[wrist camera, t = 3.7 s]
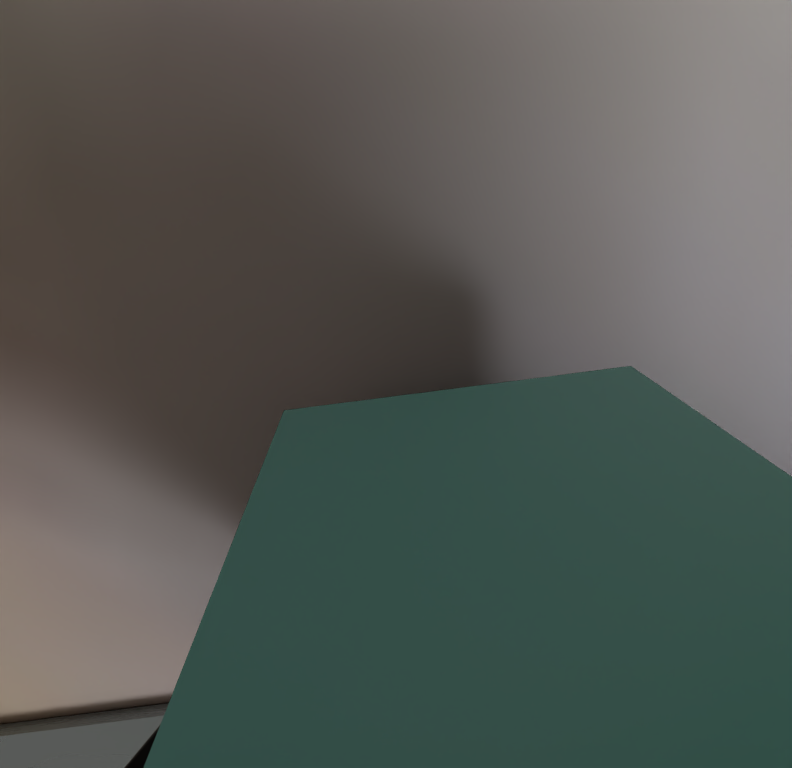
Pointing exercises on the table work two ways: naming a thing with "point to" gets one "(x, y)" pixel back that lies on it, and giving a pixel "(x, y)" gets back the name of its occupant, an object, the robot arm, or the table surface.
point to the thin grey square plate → (79, 739)
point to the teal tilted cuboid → (499, 590)
